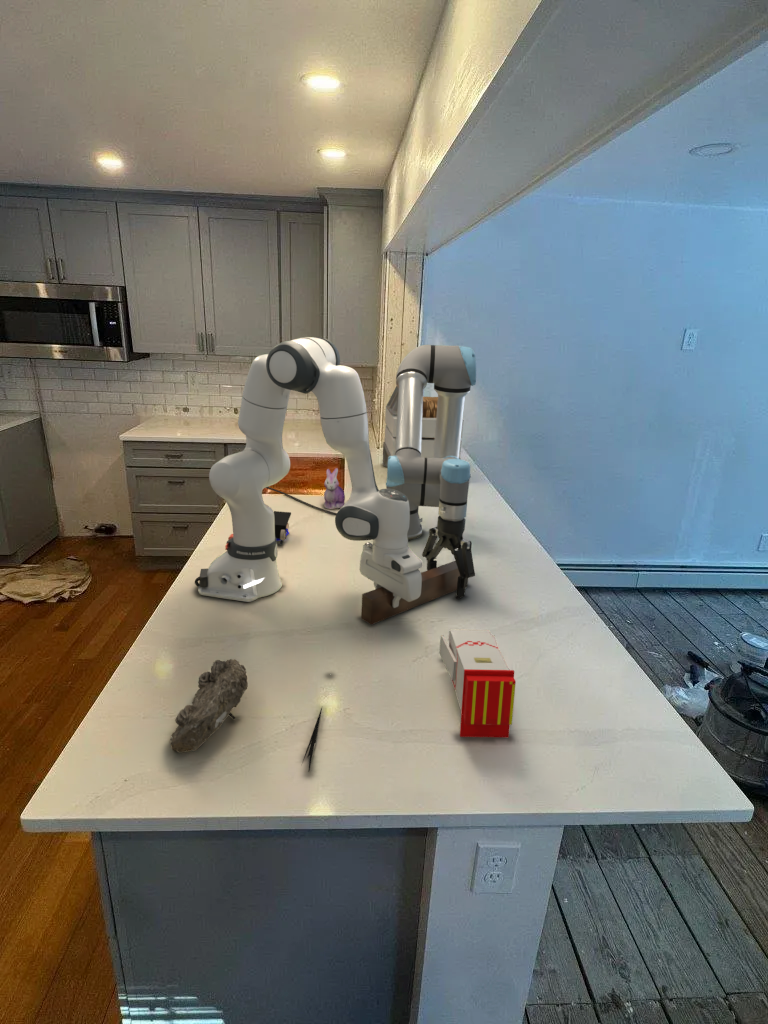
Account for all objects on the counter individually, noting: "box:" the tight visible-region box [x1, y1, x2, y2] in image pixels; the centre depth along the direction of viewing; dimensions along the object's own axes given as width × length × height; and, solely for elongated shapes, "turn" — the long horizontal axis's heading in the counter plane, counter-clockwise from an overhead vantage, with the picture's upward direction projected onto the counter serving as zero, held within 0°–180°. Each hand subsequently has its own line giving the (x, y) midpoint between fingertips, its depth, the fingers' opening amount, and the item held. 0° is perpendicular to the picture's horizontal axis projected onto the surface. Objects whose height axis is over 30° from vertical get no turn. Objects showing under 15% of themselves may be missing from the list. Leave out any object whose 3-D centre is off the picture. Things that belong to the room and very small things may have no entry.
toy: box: [438, 628, 517, 738], centre depth 117 cm, size 12×13×30 cm
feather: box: [301, 673, 332, 771], centre depth 108 cm, size 2×28×2 cm
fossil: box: [170, 658, 249, 753], centre depth 106 cm, size 22×10×15 cm
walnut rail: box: [360, 560, 465, 626], centre depth 153 cm, size 36×4×7 cm, turn 131°
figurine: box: [323, 467, 346, 510], centre depth 222 cm, size 9×10×15 cm
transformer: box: [381, 385, 464, 468], centre depth 268 cm, size 34×33×41 cm
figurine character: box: [273, 510, 292, 545], centre depth 190 cm, size 7×8×15 cm
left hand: (387, 602), depth 146 cm, fingers closed on walnut rail, 4 cm apart
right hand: (445, 589), depth 161 cm, fingers open, 11 cm apart
